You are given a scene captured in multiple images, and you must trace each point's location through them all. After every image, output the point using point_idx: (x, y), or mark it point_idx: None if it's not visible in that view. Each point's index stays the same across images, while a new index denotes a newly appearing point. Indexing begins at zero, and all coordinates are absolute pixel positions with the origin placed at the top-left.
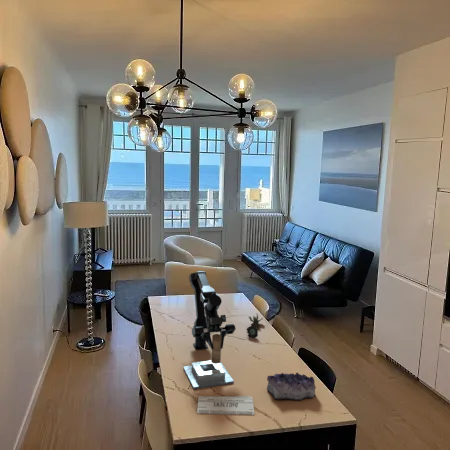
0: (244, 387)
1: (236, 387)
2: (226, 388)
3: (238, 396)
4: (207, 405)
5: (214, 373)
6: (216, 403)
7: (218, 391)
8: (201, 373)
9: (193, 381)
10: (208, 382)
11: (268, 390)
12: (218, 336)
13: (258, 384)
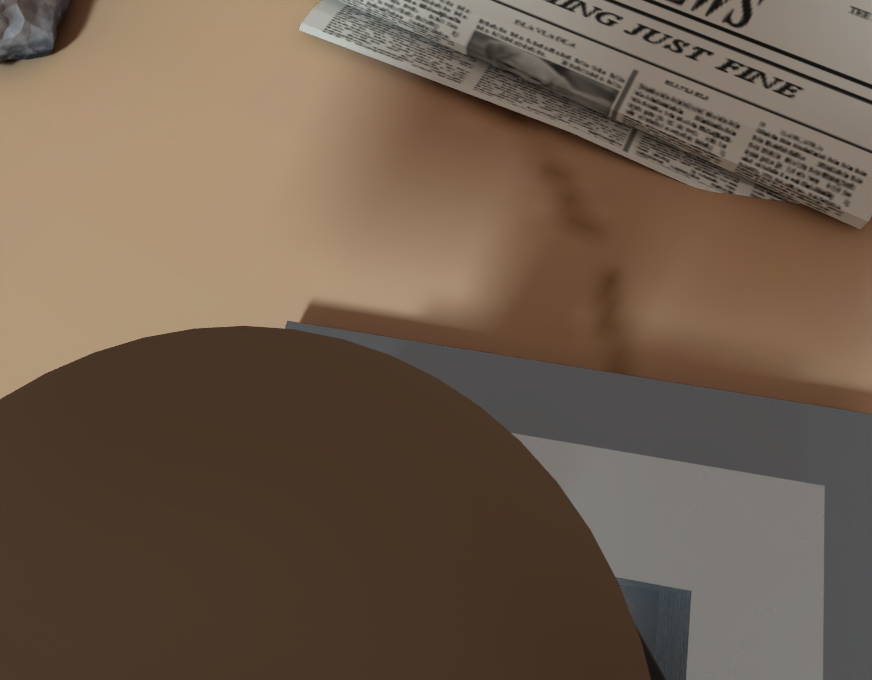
0: (235, 199)
1: (320, 237)
2: (444, 268)
3: (415, 62)
4: (828, 23)
5: (532, 445)
6: (723, 9)
7: (568, 253)
8: (750, 547)
9: (844, 567)
10: (633, 438)
11: (62, 11)
12: (105, 619)
13: (48, 185)
